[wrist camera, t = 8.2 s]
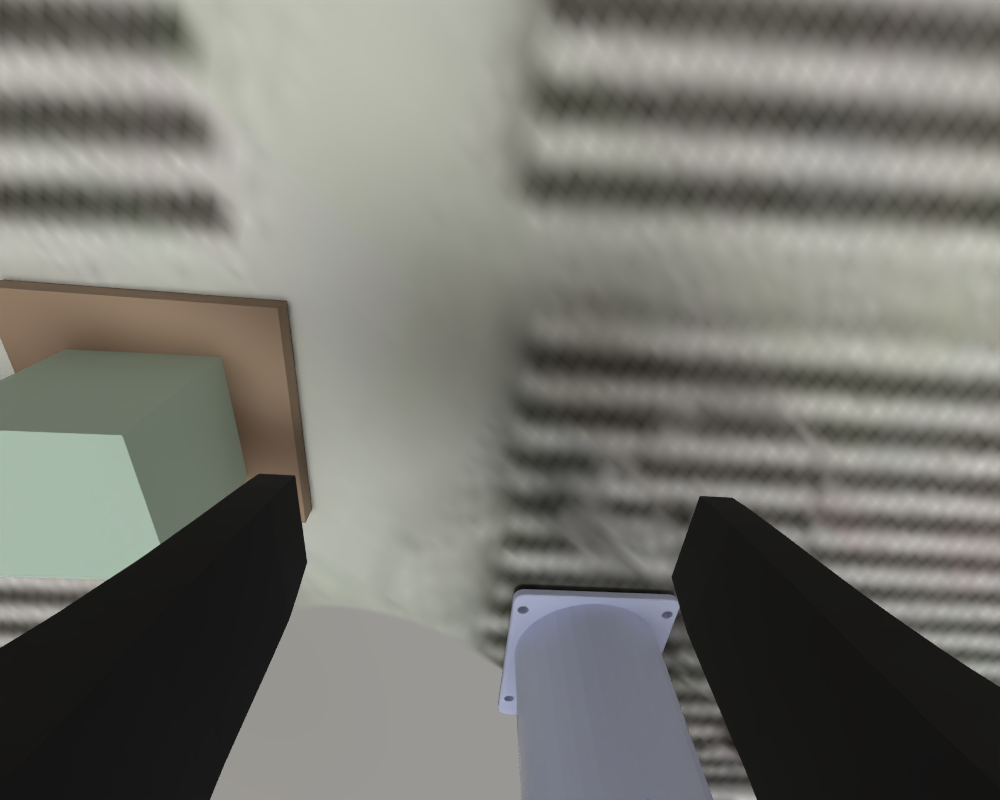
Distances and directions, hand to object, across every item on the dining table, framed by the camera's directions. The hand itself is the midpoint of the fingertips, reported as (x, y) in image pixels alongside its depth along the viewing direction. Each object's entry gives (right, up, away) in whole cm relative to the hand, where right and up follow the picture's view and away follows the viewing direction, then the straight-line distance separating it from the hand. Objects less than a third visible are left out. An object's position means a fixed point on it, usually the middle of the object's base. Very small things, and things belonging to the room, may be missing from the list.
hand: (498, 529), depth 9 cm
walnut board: (-12, +2, +9) cm, 15 cm away
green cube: (-12, +2, +8) cm, 15 cm away
